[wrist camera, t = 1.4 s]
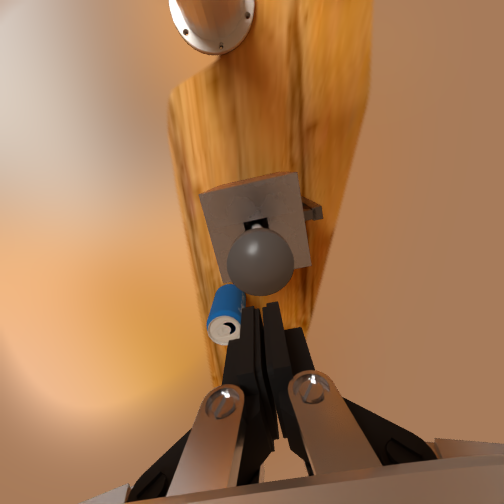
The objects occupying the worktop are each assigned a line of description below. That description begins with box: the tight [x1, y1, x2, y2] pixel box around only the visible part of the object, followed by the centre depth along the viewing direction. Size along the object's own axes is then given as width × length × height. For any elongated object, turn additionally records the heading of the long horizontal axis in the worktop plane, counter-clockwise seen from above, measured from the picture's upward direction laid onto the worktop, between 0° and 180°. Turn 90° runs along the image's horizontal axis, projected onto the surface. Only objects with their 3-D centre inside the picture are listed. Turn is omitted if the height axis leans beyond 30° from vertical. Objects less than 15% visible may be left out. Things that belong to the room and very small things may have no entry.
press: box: [199, 172, 323, 283], centre depth 38 cm, size 11×14×19 cm
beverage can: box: [207, 284, 246, 345], centre depth 47 cm, size 6×6×12 cm
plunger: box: [227, 217, 294, 296], centre depth 28 cm, size 9×9×19 cm
